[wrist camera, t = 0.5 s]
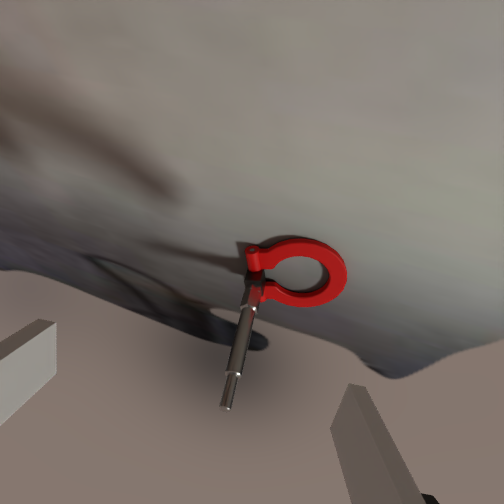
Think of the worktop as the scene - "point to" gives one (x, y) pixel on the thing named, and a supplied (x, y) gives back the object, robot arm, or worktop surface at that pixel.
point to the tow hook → (277, 296)
